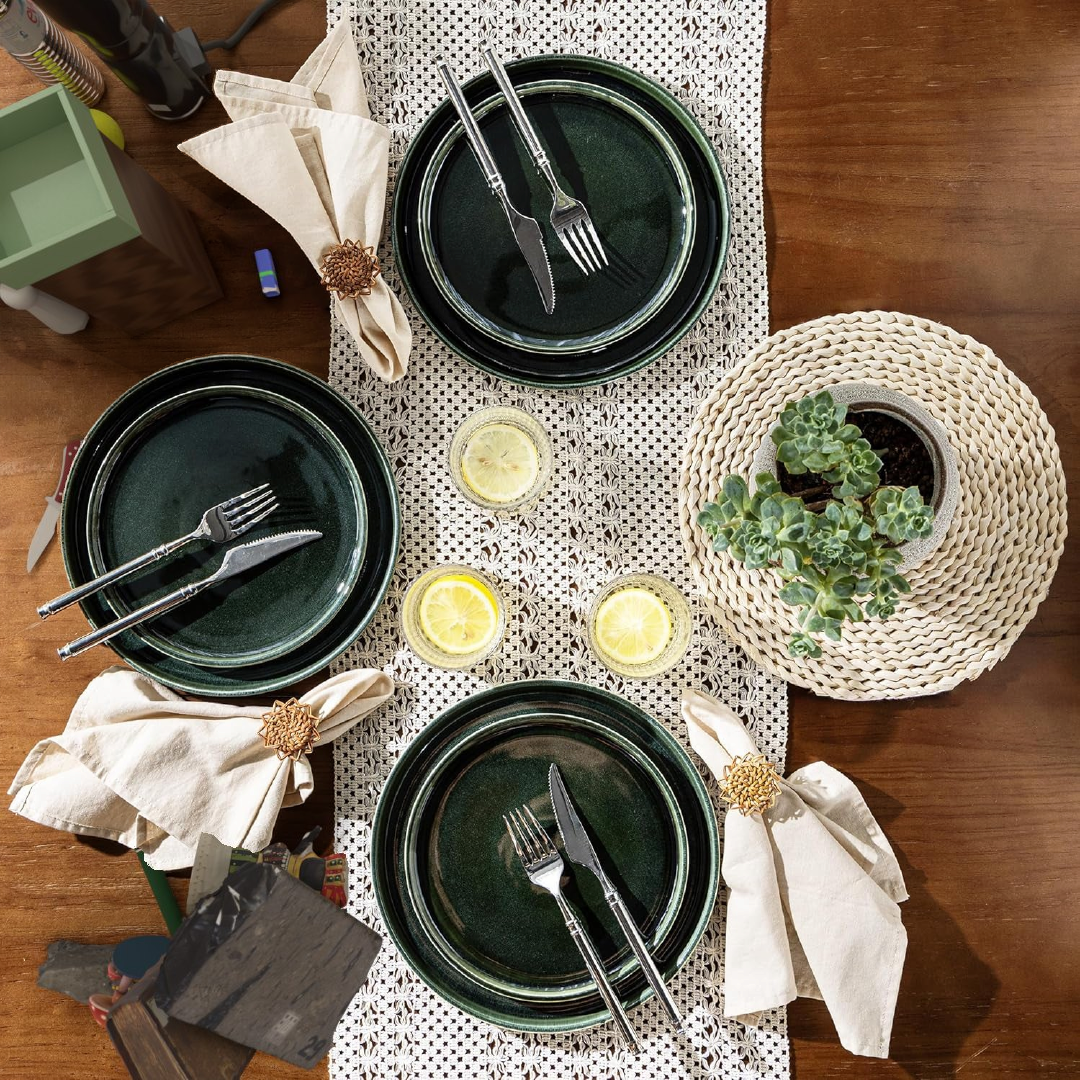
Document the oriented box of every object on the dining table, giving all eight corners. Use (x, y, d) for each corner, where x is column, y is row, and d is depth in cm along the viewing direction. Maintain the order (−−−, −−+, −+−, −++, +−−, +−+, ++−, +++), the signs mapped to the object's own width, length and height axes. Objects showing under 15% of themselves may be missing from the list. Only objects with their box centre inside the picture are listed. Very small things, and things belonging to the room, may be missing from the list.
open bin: (89, 108, 90) (60, 81, 85) (142, 234, 90) (116, 215, 85) (-36, 164, 91) (-72, 142, 86) (17, 290, 91) (-16, 275, 85)
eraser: (262, 293, 112) (277, 289, 112) (253, 251, 112) (267, 248, 112) (266, 297, 114) (281, 294, 114) (257, 256, 114) (271, 253, 114)
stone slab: (285, 874, 91) (414, 957, 111) (255, 828, 97) (381, 915, 117) (152, 1013, 86) (312, 1075, 105) (129, 955, 92) (284, 1024, 112)
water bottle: (106, 111, 115) (-22, -10, 90) (60, 111, 115) (-82, -9, 90) (107, 63, 115) (-21, -71, 90) (60, 64, 115) (-80, -70, 90)
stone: (35, 1012, 112) (-2, 1008, 104) (58, 942, 117) (25, 933, 108) (167, 1018, 112) (141, 1015, 104) (185, 948, 117) (162, 940, 109)
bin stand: (186, 207, 114) (85, 117, 90) (224, 296, 114) (133, 230, 90) (98, 247, 115) (-27, 168, 91) (135, 336, 115) (20, 281, 91)
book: (199, 911, 113) (95, 1014, 88) (244, 890, 113) (153, 987, 88) (249, 1019, 113) (159, 1153, 88) (294, 998, 113) (216, 1127, 88)
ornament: (128, 179, 115) (86, 145, 105) (81, 169, 115) (34, 134, 105) (139, 131, 115) (98, 91, 105) (91, 121, 115) (46, 80, 105)
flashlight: (165, 829, 116) (221, 960, 114) (131, 846, 115) (186, 978, 113) (152, 836, 111) (210, 974, 109) (116, 854, 110) (174, 993, 108)
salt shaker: (101, 308, 115) (42, 277, 102) (85, 344, 115) (23, 319, 102) (65, 291, 115) (1, 258, 102) (48, 327, 115) (-18, 300, 102)
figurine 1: (104, 933, 107) (88, 993, 108) (96, 978, 99) (78, 1043, 99) (199, 936, 112) (183, 993, 113) (199, 980, 104) (182, 1041, 104)
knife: (67, 435, 113) (87, 443, 113) (72, 436, 115) (92, 444, 115) (13, 569, 114) (34, 577, 114) (19, 568, 115) (39, 576, 115)
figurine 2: (177, 960, 100) (340, 962, 106) (196, 840, 100) (359, 848, 105) (191, 911, 112) (337, 914, 117) (208, 803, 112) (354, 812, 117)
